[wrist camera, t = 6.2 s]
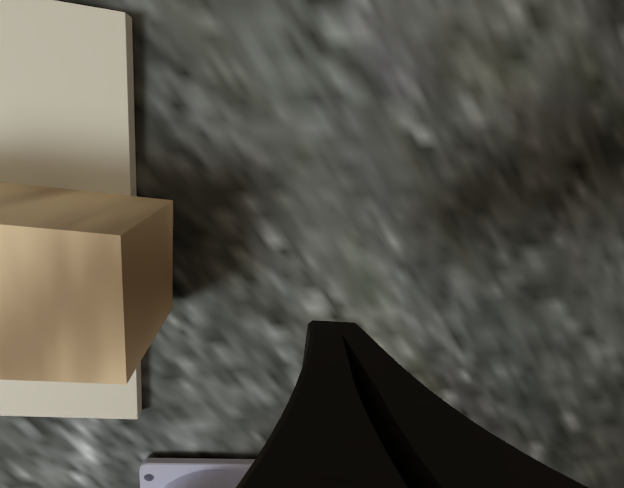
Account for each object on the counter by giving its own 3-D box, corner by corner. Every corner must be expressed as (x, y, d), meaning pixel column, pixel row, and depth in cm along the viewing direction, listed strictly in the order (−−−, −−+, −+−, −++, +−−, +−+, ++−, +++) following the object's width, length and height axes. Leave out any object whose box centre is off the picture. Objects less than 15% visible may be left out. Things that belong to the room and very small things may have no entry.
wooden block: (126, 384, 11) (-206, 371, 10) (172, 307, 16) (-49, 293, 15) (120, 235, 9) (-274, 199, 8) (173, 200, 14) (-74, 174, 13)
